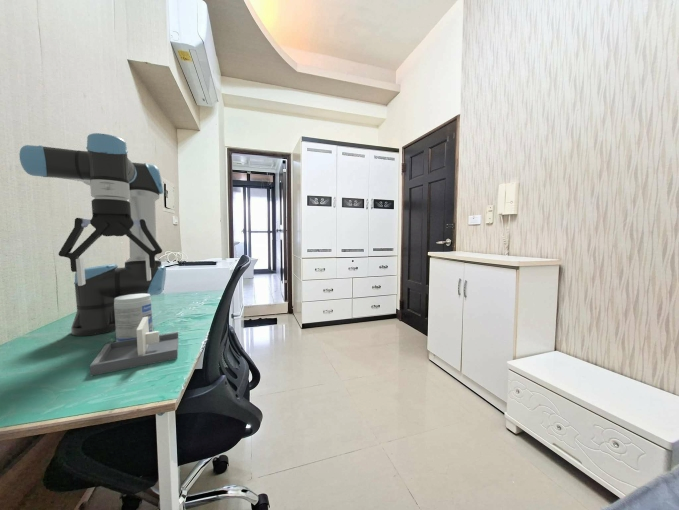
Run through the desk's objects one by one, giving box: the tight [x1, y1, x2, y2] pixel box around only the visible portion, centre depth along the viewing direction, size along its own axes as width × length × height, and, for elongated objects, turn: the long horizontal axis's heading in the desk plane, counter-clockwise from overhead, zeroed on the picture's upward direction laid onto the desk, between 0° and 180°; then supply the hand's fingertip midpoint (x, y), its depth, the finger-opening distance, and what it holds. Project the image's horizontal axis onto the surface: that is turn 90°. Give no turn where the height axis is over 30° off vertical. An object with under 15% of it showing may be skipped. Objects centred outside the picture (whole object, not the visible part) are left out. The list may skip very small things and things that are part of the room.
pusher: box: [136, 317, 160, 355], centre depth 77 cm, size 13×4×8 cm, turn 30°
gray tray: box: [89, 331, 179, 377], centre depth 76 cm, size 16×18×2 cm
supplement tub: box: [114, 293, 154, 342], centre depth 86 cm, size 10×10×15 cm
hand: (117, 282), depth 69 cm, fingers open, 13 cm apart
